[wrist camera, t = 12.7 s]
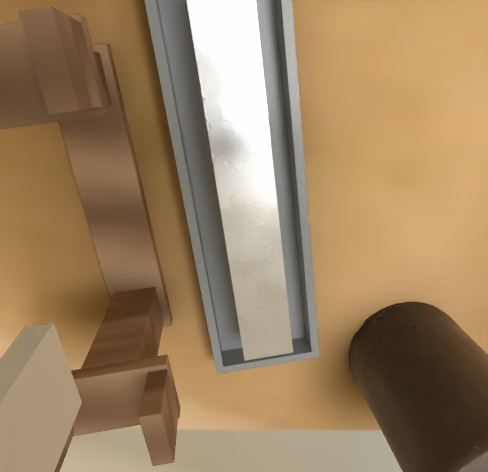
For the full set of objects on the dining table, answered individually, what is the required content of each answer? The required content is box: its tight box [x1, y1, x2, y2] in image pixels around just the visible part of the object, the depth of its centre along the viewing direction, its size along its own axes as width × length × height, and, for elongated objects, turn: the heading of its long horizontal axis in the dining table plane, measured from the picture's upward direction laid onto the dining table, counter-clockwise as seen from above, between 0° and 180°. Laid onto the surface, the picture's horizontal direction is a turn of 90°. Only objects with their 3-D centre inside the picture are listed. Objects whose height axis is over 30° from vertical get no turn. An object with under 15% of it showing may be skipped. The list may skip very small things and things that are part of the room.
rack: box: [0, 7, 180, 472], centre depth 22 cm, size 20×7×14 cm, turn 8°
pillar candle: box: [349, 303, 488, 472], centre depth 28 cm, size 10×10×15 cm
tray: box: [144, 0, 320, 374], centre depth 27 cm, size 28×8×2 cm, turn 8°
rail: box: [187, 0, 293, 361], centre depth 26 cm, size 24×4×4 cm, turn 8°
